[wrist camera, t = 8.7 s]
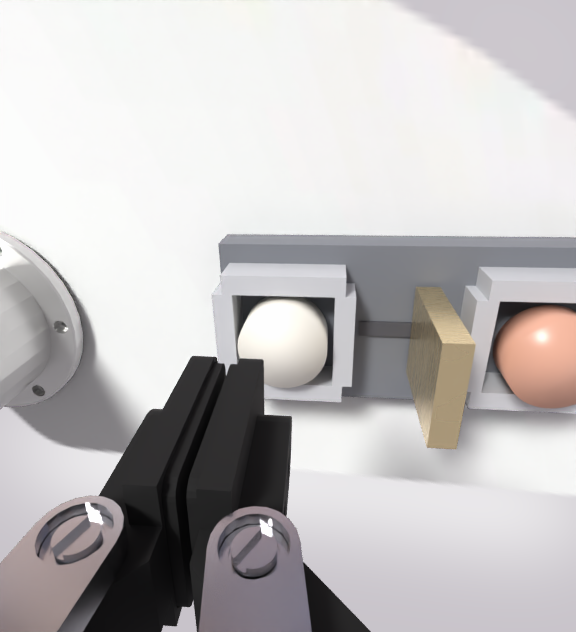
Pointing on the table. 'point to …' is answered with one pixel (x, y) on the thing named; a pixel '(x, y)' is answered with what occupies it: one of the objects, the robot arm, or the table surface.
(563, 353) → the terracotta button
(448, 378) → the thick plank
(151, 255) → the table surface
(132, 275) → the table surface
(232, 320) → the panel
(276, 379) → the cream button
